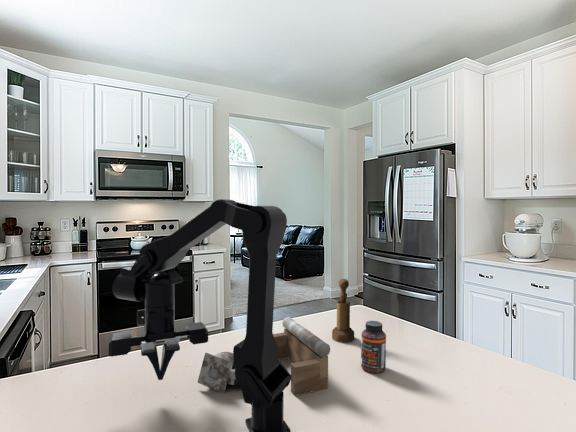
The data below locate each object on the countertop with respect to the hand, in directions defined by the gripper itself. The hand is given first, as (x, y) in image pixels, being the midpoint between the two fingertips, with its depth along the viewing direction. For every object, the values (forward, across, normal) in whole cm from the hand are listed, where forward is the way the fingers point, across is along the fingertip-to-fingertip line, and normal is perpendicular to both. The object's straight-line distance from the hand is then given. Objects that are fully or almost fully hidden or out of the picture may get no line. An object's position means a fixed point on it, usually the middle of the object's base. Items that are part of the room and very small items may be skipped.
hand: (160, 379), depth 73 cm
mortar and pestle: (+4, -53, -14) cm, 55 cm away
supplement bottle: (+4, -49, +6) cm, 49 cm away
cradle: (+4, -30, 0) cm, 30 cm away
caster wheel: (+4, -15, -1) cm, 16 cm away
